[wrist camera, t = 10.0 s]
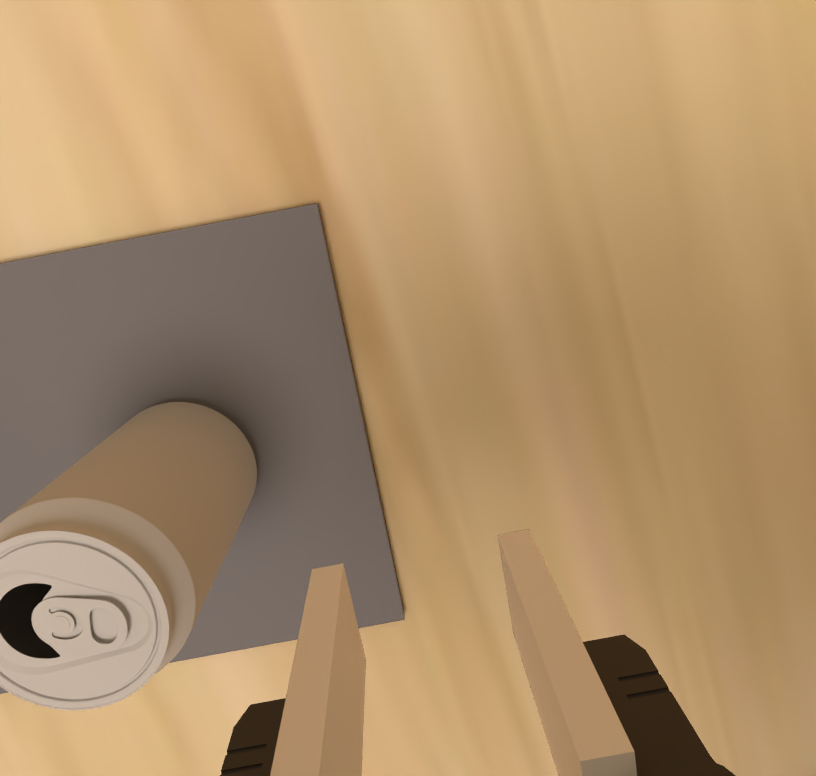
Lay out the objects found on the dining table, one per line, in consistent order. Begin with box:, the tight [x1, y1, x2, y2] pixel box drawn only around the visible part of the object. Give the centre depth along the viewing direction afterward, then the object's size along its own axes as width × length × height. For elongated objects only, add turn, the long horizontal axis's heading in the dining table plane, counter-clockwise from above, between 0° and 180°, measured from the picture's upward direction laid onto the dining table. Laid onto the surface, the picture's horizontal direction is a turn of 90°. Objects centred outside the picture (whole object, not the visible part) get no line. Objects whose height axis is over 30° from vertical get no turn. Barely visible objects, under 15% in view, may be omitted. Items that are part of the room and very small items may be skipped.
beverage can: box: [0, 402, 257, 710], centre depth 23 cm, size 6×6×12 cm
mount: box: [0, 204, 405, 694], centre depth 26 cm, size 20×28×7 cm
